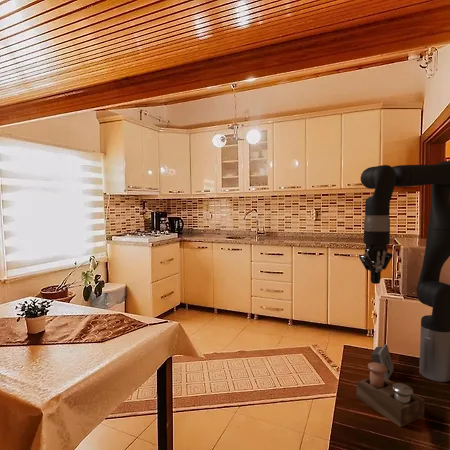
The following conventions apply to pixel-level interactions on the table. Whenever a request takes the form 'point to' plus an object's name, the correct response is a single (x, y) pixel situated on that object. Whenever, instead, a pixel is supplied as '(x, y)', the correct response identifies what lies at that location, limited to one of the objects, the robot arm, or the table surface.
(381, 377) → the terracotta plug
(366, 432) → the table surface
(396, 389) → the grey plug
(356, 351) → the table surface
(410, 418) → the socket board
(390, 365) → the electrical switch
